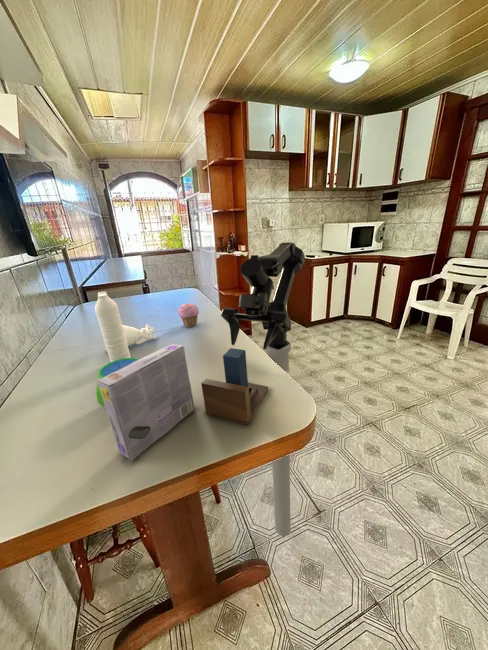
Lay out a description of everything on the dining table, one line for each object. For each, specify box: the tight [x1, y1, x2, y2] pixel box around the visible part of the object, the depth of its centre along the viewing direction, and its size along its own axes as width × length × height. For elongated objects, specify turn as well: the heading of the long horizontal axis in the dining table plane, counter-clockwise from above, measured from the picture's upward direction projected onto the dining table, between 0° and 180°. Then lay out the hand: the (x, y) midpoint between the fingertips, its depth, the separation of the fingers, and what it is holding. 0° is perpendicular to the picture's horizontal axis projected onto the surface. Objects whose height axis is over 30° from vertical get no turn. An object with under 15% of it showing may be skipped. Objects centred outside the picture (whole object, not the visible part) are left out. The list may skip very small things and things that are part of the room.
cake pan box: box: [96, 343, 196, 462], centre depth 58 cm, size 19×5×18 cm, turn 145°
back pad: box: [222, 347, 249, 387], centre depth 65 cm, size 4×4×13 cm
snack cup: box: [95, 357, 141, 408], centre depth 70 cm, size 16×10×10 cm
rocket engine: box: [104, 324, 157, 351], centre depth 103 cm, size 12×12×18 cm
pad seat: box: [200, 378, 269, 426], centre depth 66 cm, size 14×11×9 cm
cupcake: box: [177, 303, 200, 328], centre depth 117 cm, size 9×9×10 cm
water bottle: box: [94, 290, 132, 363], centre depth 86 cm, size 9×6×25 cm
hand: (248, 347), depth 71 cm, fingers open, 9 cm apart
